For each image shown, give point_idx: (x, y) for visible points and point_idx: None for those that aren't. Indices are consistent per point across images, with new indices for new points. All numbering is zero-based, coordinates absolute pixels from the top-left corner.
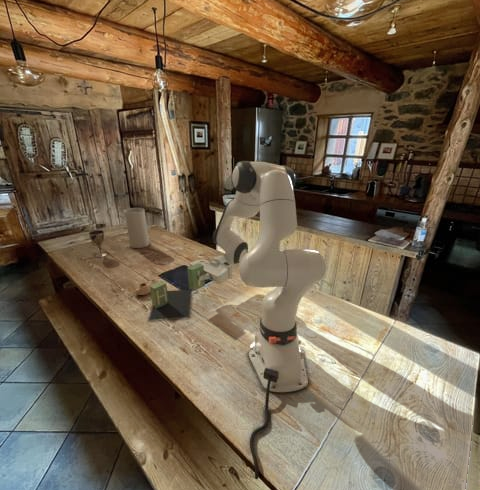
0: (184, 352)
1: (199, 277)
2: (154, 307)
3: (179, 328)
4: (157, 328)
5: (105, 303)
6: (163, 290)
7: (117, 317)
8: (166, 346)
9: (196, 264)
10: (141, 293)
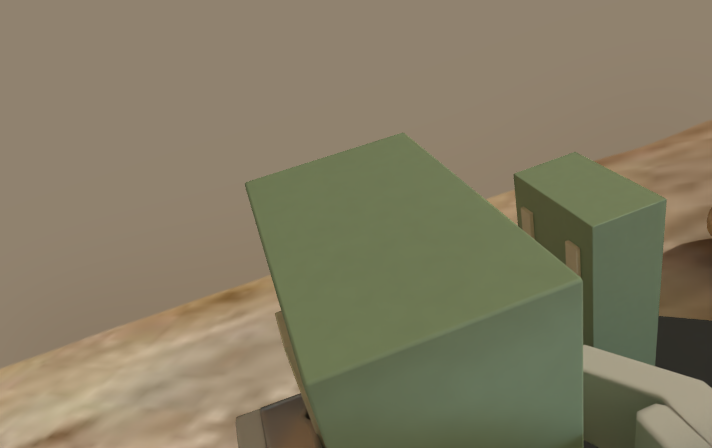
0: (44, 435)
1: (244, 416)
2: None
3: None
4: None
5: (662, 148)
6: (567, 260)
7: (509, 198)
8: (158, 364)
9: (485, 237)
10: (709, 219)
